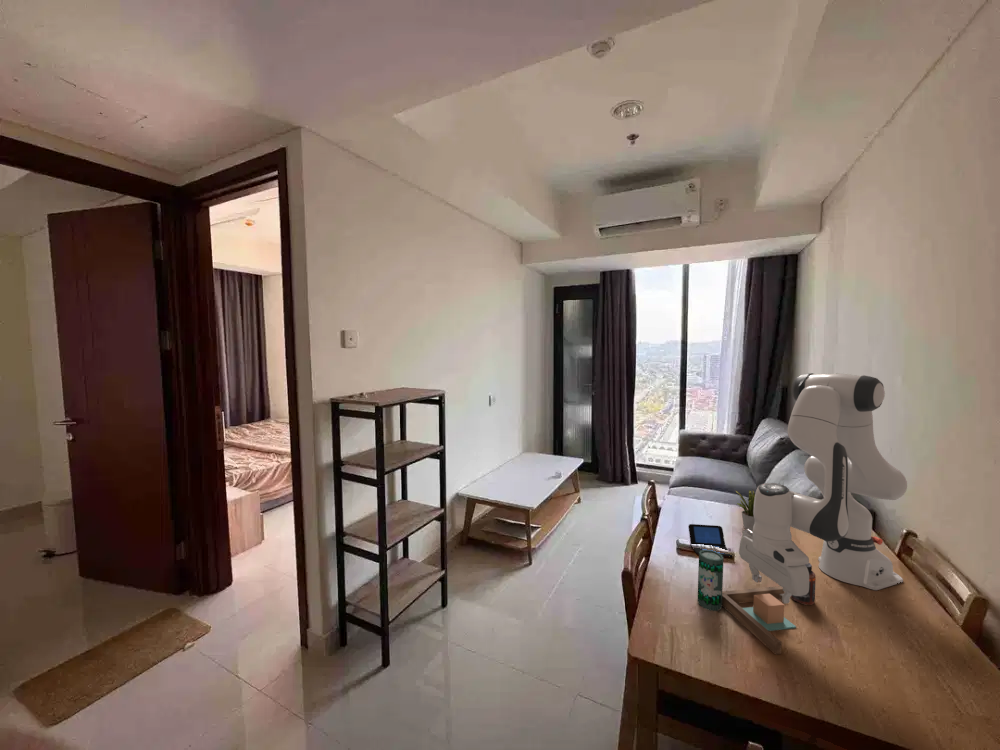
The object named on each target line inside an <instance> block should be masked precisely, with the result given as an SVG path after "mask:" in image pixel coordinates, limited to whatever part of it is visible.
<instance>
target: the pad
mask: <svg viewBox="0 0 1000 750" xmlns="http://www.w3.org/2000/svg"><path fill="white" fill-rule="evenodd" d="M742 608H743V609H744V610H745V611H746V612H747V613H748V614H749V615H751V616H752V617H753V618H754V619H755V620H756V621H758V622H759V623H760V624H761V625H762V626H763V627H765V628H766V629H767V630H768V631H769V632H771V631H772V632H773V631H779V630H790V629H796V628H797V626H796V625H795V624H794V623H792V622H791V621H790V620H789V619H787V618H786V617H785V616H784V622H780V623H771V624H767V623H766V622H764V621H763V620H762V619H761V618H760V617H759V616H757V615H756V614H755V613H754V612H753V606H749V607H742Z"/></svg>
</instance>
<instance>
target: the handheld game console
mask: <svg viewBox="0 0 1000 750" xmlns="http://www.w3.org/2000/svg"><path fill="white" fill-rule="evenodd" d="M688 533H689V541H690V545H691V544H704V545H712V546H715V547H719V548H722V549H725V550H729V549H728V547H726V542H725V536H724V529H723V527H722V526H720V525H713V524H712V525H709V524H697V523H696V524H695V523H691V524H690V523H689V524H688ZM702 550H707V549H702V548H701V549H700V548H694V549H693V551H694V552H695V554H696V555H698V556H699V552H700V551H702ZM712 551H713V550H712ZM715 552H716V551H715ZM717 553H720V552H717ZM720 554H721V555H723V557H724V558H732V557H733V556H732V555H733V554H732V555H730V554H725V553H720ZM729 556H730V557H729ZM731 556H732V557H731Z"/></svg>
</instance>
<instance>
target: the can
mask: <svg viewBox="0 0 1000 750" xmlns="http://www.w3.org/2000/svg"><path fill="white" fill-rule="evenodd" d="M724 558H725V557H723V555H721V554H720V553H717V552H715V551H712V550H702V551H700V552H699V555H698V573H697V575H698V577H697V599H696V600H697V603H698V604H699V606H700V607H701V608H703V609H705V610H708V611H712V612H719V611H721V609H722V607H723V606H722V591H723V585H724Z"/></svg>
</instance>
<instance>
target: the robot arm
mask: <svg viewBox="0 0 1000 750" xmlns="http://www.w3.org/2000/svg"><path fill="white" fill-rule="evenodd" d="M791 395H792V398H793V399H794V400H795V403H794V405H793V408H792V411H791V414H790V416H789V417H790V418H789V421H788V424H787V434H788V437H789V438H788V439H790V441H791V442H792V443H793V445H794V446H795V447H797V448H798V449H800V450H802V451H803V452H805V453H806V454H808V455H810V456H809V457H808V458H807V459H806V461H805V462H804V466H803V468H804V473H805V476H806V477H807V479H808V480H809V481H810V482H812V484H814V486H815V487H817V489H818V490H819V491H820V492H821V495H822V496H823V498H822V499H819V498H815V497H812V496H809V495H806V494H805V495H804V494H801V493H799V492H796V491H792V490H790V488H789V487H787V486H786V485H784V484H781V483H777V482H765V483H761V484H759V485H758V486H757V488H756V491H755V499H754V509H753V515H754V519H755V524H754V526H753V531H751V530H749V529H744V530H742V534H741V535H742V536H741V538H740V540H739V541H740V542H739V546H738V547H739V548H738V549H739V550H738V554H739V557H740V558H741V559H742V560H743V561H745V562H746V563H748V564H749V565H748V568H749V569H750V572H751V574H752V575H751V579H752V580H753V581H754V582H755V583H762V575H764V576H766V577H767V578H768V579H770V580H771V581H772V582H774V583H775V584H777V585H778V586H781V587H782V588H783V591H784V594H779V597H780V598H779V599H778V600H779V601H780V602H782V603H783V604H784V605H785V604H789V603H790V601H791V596H792V595H794V596H803V595H806V594H807V593H808V592H809V572H808V569H807V567H806V566H805V564H808V563H810V559H809V556H808V555H807V554H806V553H804V551H803V550H802V549H801V548H799V546H798V545H797V544H796V543H795V541H793V539H792V537H793V535H792V533H791V532H792V531H791V528H792V529H797V530H798V531H802V532H804V533H806V534H809V535H811V536H813V537H816V538H818V539H820V540H823V543H822V547H821V549H822V550H821V554H820V556H818V559H817V560H818V562H819V563H818V567H819V569H820V571H822V572H823V573H824V574H826V575H827V576H829V577H831V578H834V579H836V580H838V581H841V582H843V583H848V584H851V585H854V586H860V587H864V588H866V589H870V590H871V591H878V590H879V591H880V590H883V589H885V588H888V587H892V586H895V585H898V584H901V583H903V582H904V579H903V577H901V575H899V574H898V573H896V572H895V571H894V565H893V562H892V559H890V558H889V557H888V556H887V555H885V554H884V553H882V552H881V551H880V550H879V549H877V548H876V544H877V545H882V544H883V542H884V541H883V539H882V538H879V537H877V536H875V535H874V536H872V531H873V516H872V514H871V512H870V511H869V510H868V508H867V507H865V506H864V505H863V504H861V503H860V502H858V501H857V500H856V499H855V498H854V496H853V495H852V494H856V495H860V496H864V497H867V498H872V499H875V500H876V499H877V500H885V501H886V500H887V501H888V500H889V501H897V500H899V499H900V498H902V497H903V496H904V495H905V493H906V492H907V489H908V481H907V479H906V477H905V475H904V473H902V471H901V470H899V469H898V468H896V467H894V466H893V465H892V464H891V463H889V462H888V460H886V458H884V457H883V455H882V454H881V452H880V451H879V449H878V447H877V445H876V441H875V434H874V433H875V432H874V420H873V411H875V410H877V409H879V408H880V407H881V406H882V404H883V401H884V399H885V395H886V393H885V387H884V384H883V382H882V381H880V380H879V379H878V378H877V377H873V376H869V375H864V374H863V375H857V374H849V373H838V372H837V373H811V372H810V373H809V372H807V373H803V374H800V375H799V376H797V377H795V379H794V380H793V381H792V385H791ZM760 573H761V574H762V575H761V574H760ZM900 582H901V583H900ZM897 583H898V584H897Z"/></svg>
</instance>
